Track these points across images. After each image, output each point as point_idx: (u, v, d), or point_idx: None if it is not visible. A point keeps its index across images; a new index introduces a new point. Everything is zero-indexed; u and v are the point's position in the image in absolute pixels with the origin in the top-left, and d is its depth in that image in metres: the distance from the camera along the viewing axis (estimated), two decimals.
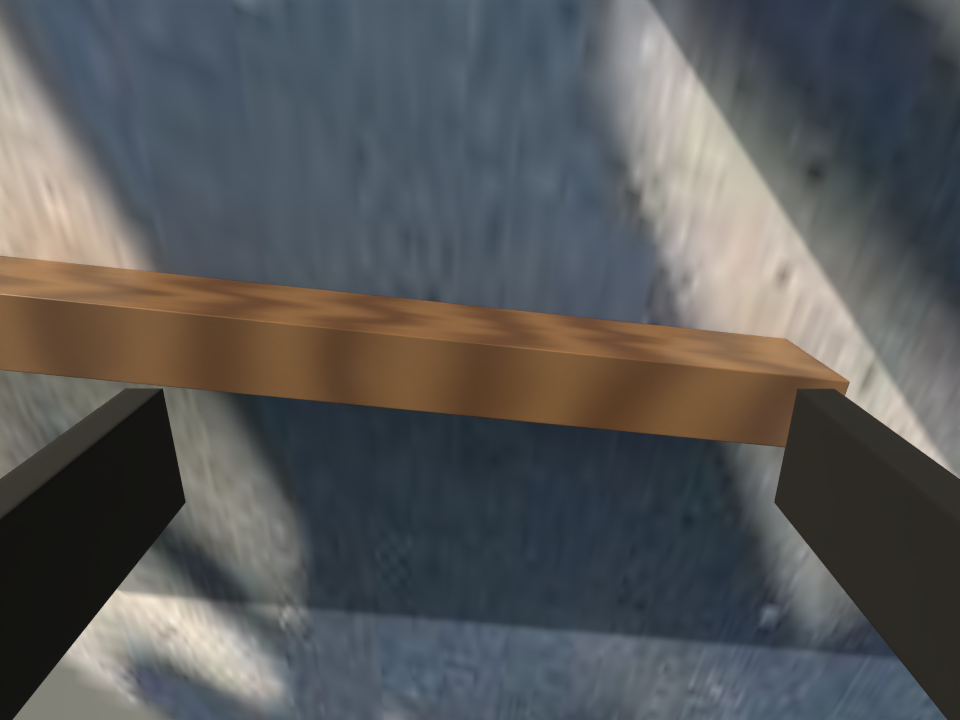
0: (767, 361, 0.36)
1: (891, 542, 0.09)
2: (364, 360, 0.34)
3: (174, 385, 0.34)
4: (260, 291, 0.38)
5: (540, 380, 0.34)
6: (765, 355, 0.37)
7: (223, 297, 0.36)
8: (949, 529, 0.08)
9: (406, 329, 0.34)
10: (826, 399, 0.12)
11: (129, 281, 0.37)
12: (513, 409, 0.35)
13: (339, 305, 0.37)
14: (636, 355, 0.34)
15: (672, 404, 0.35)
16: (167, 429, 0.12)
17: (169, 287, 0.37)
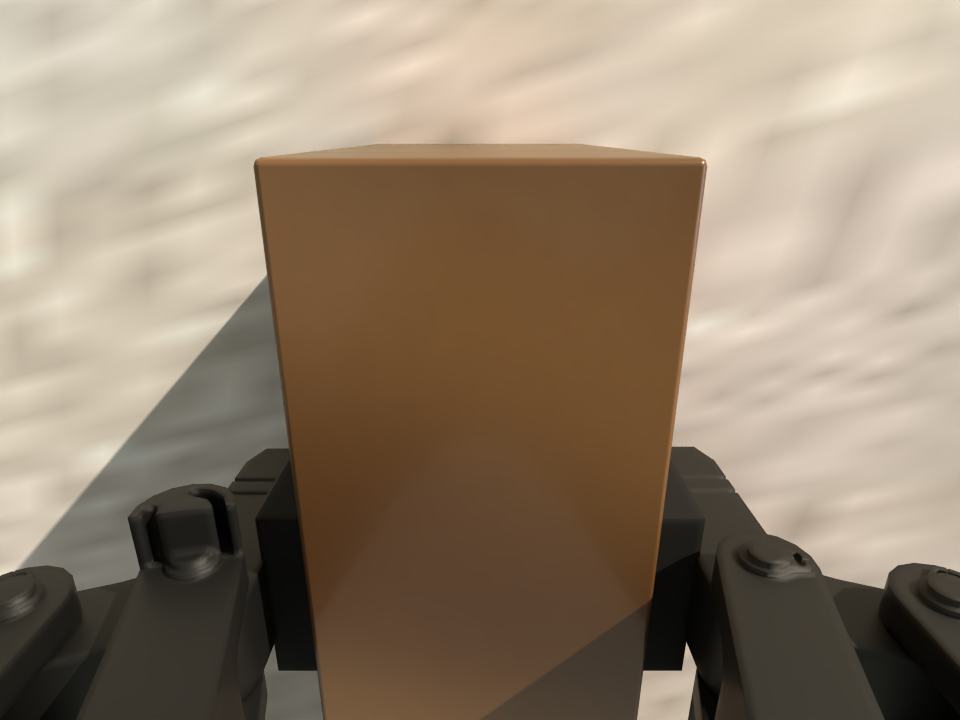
0: None
1: None
2: None
3: None
4: None
5: None
6: None
7: None
8: None
9: None
10: None
11: None
12: None
13: None
14: None
15: None
16: None
17: None
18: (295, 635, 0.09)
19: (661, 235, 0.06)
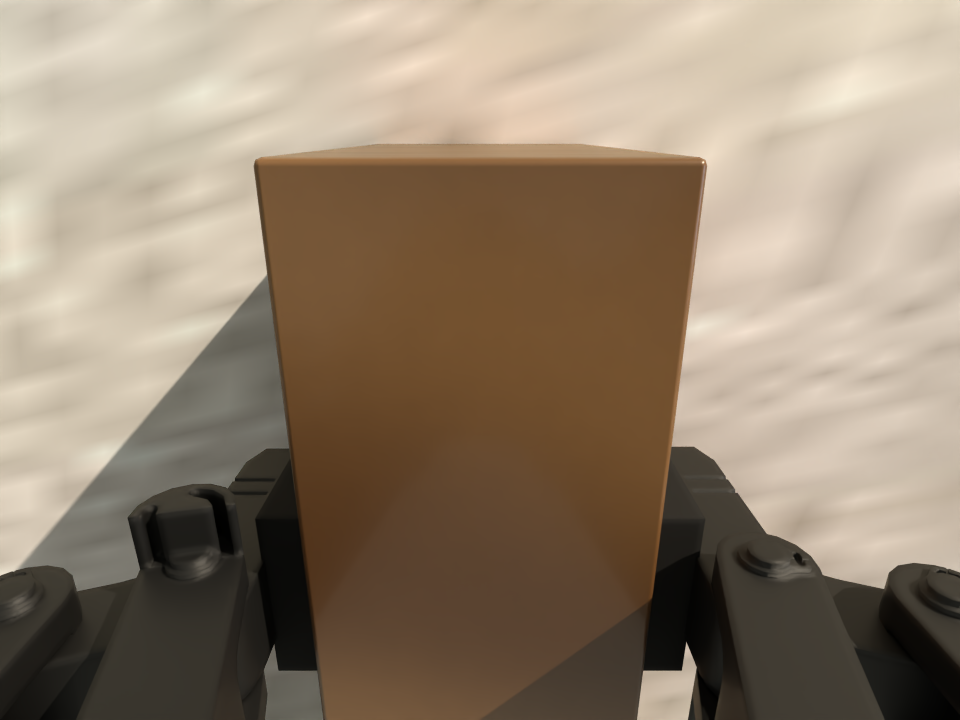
0: None
1: None
2: None
3: None
4: None
5: None
6: None
7: None
8: None
9: None
10: None
11: None
12: None
13: None
14: None
15: None
16: None
17: None
18: (295, 635, 0.09)
19: (662, 235, 0.06)
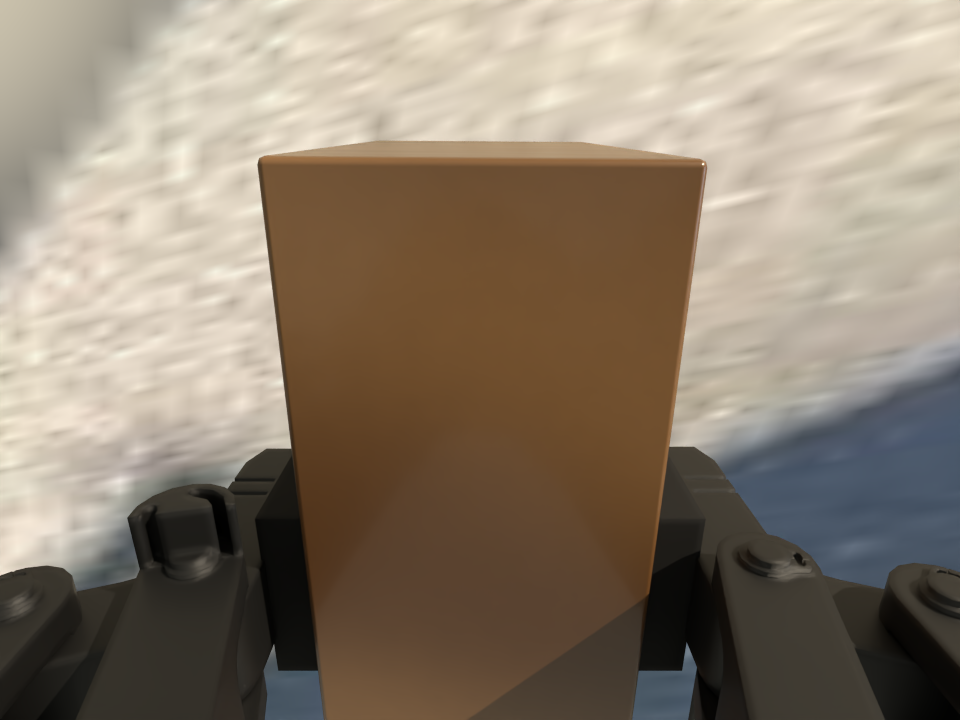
0: None
1: None
2: None
3: None
4: None
5: None
6: None
7: None
8: None
9: None
10: None
11: None
12: None
13: None
14: None
15: None
16: None
17: None
18: (295, 635, 0.09)
19: (662, 235, 0.06)
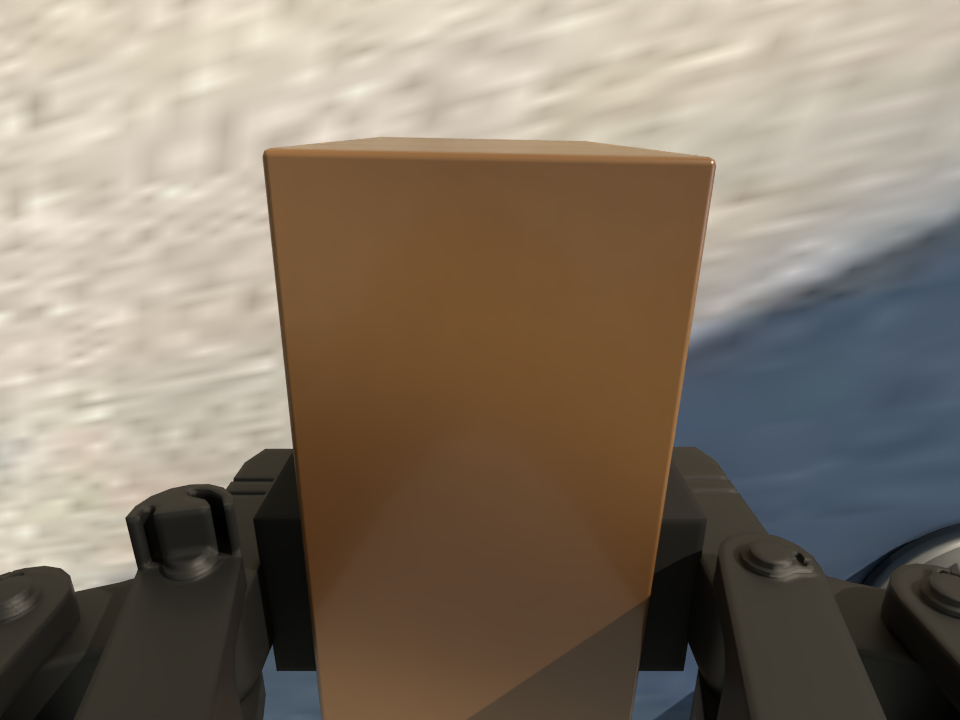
0: None
1: None
2: None
3: None
4: None
5: None
6: None
7: None
8: None
9: None
10: None
11: None
12: None
13: None
14: None
15: None
16: None
17: None
18: (293, 635, 0.09)
19: (670, 233, 0.06)
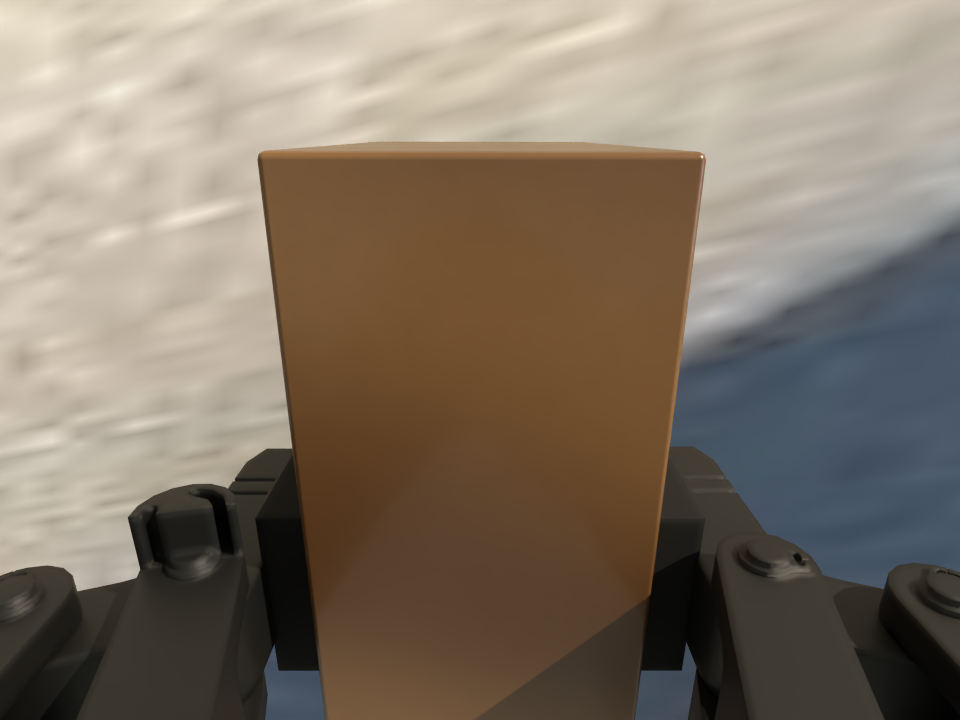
0: None
1: None
2: None
3: None
4: None
5: None
6: None
7: None
8: None
9: None
10: None
11: None
12: None
13: None
14: None
15: None
16: None
17: None
18: (295, 635, 0.09)
19: (661, 228, 0.06)
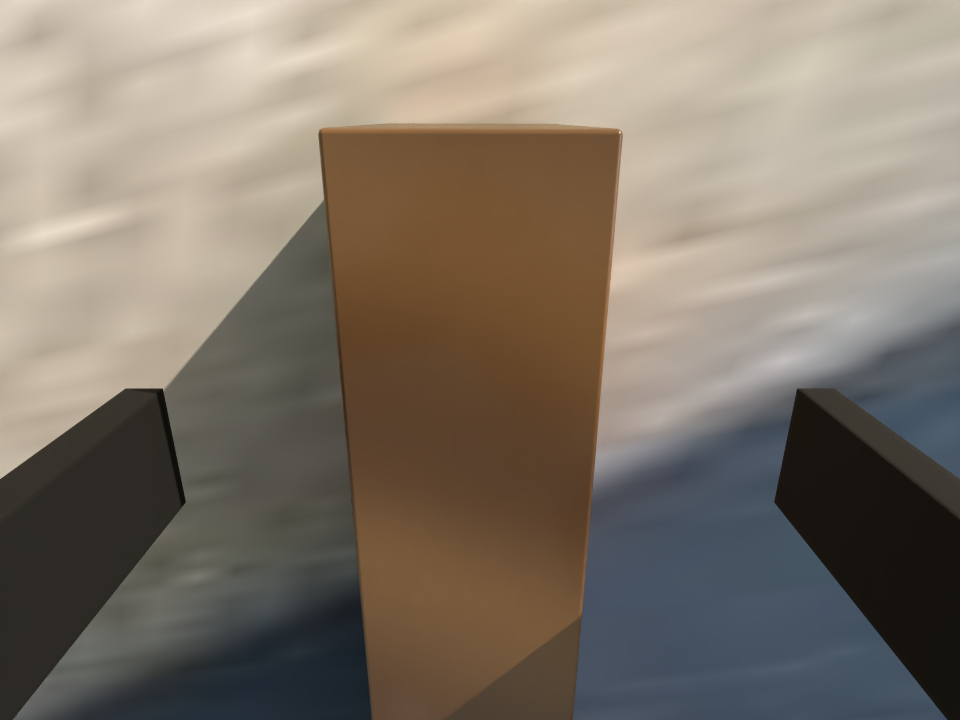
0: None
1: (891, 542, 0.09)
2: None
3: None
4: None
5: None
6: None
7: None
8: (949, 529, 0.08)
9: None
10: (826, 399, 0.12)
11: None
12: None
13: None
14: None
15: None
16: (166, 429, 0.12)
17: None
18: None
19: (593, 181, 0.09)
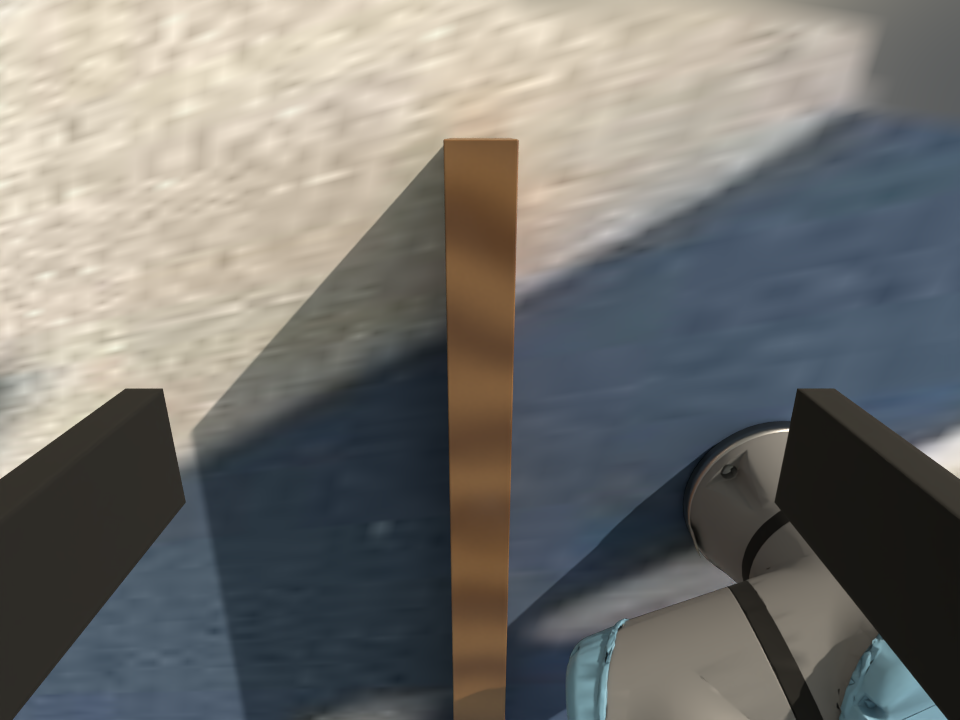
0: None
1: (891, 542, 0.09)
2: (485, 679, 0.52)
3: (452, 579, 0.48)
4: None
5: None
6: None
7: None
8: (949, 529, 0.08)
9: None
10: (826, 399, 0.12)
11: None
12: None
13: None
14: None
15: None
16: (167, 429, 0.12)
17: None
18: None
19: (511, 152, 0.37)
